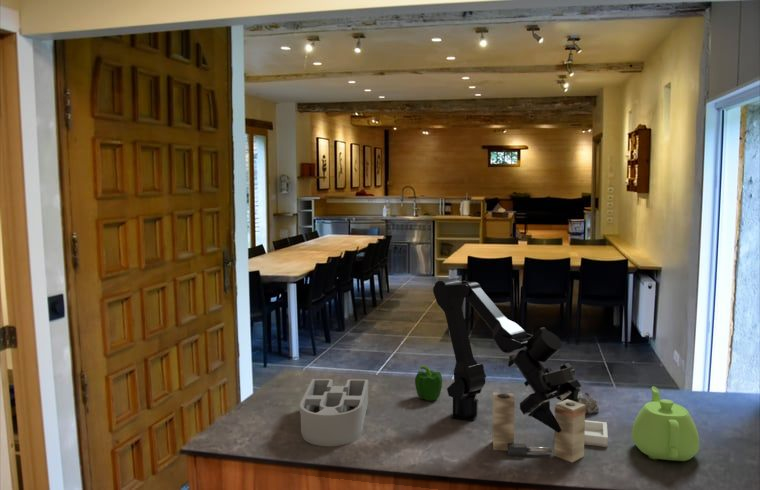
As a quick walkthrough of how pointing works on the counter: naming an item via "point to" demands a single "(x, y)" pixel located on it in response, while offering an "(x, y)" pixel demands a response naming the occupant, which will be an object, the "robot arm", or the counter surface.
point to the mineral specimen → (588, 403)
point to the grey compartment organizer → (333, 412)
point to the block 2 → (570, 430)
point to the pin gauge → (525, 449)
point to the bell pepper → (428, 384)
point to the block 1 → (503, 420)
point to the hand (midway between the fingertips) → (571, 426)
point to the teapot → (665, 430)
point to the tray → (596, 433)
